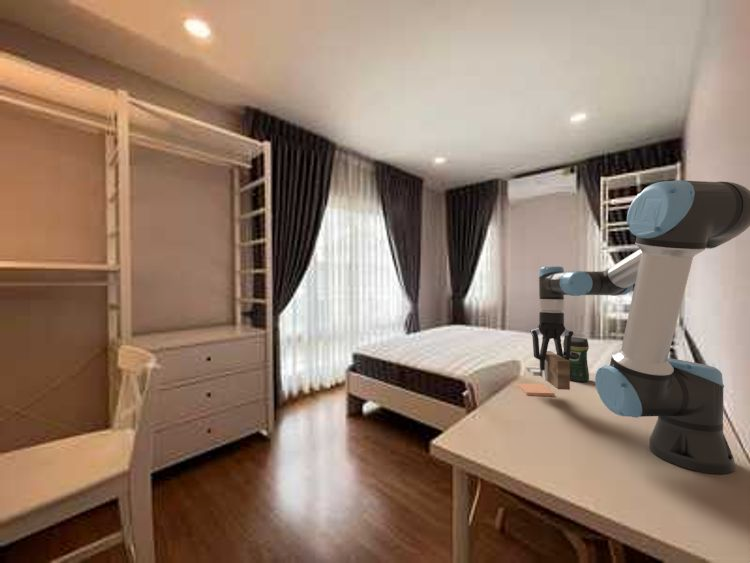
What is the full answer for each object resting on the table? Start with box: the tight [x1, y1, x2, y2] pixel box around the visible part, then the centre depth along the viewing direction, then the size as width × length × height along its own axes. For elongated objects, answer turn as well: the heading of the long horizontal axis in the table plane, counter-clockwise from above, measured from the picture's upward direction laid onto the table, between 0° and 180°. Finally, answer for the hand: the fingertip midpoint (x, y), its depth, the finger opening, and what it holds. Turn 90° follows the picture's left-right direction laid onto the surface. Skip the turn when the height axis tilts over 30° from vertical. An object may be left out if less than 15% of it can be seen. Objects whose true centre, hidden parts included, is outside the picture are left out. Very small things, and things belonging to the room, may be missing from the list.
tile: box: [516, 383, 555, 397], centre depth 134 cm, size 2×10×12 cm
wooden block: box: [524, 350, 571, 391], centre depth 120 cm, size 26×8×9 cm, turn 172°
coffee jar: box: [562, 336, 590, 383], centre depth 150 cm, size 10×8×19 cm
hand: (551, 379), depth 117 cm, fingers closed on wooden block, 3 cm apart
